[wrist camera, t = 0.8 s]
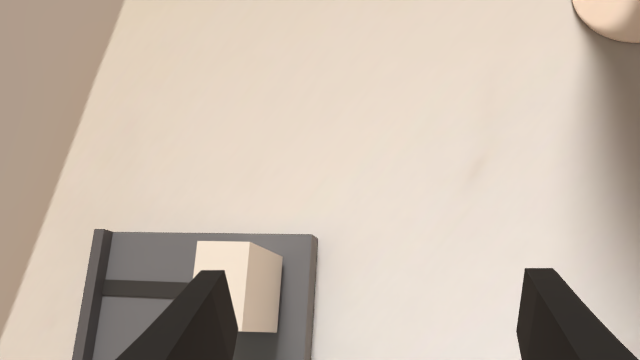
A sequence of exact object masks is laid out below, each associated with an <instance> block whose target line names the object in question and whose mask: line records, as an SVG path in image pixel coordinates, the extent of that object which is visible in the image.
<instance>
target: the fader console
mask: <svg viewBox="0 0 640 360" xmlns="http://www.w3.org/2000/svg"><path fill="white" fill-rule="evenodd" d="M197 241H236V242H252V243H254V244H256V245H258V246H260V247H262V248H265V249H267V250H269V251H271V252H273V253H276V254H278V255H280V256H282V257H283V259H282V273H281V286H280V299H279V312H278V326H277V333H273V332H243V331H238V334H237V340H236V345H235V351H234V356H233V360H311V345H312V328H313V311H314V294H315V277H316V260H317V243H318V238H316V237H315V236H313V235H312V234H235V233H154V232H111V231H108V230H105V229H94V235H93V241H92V247H91V252H90V258H89V264H88V270H87V276H86V281H85V287H84V293H83V299H82V305H81V310H80V316H79V322H78V328H77V334H76V339H75V345H74V351H73V357H72V360H115V359H116V358H117V357H118V356H119V355H120V354H122V353H123V352H124V351H125V350H126V349H127V348H128V347H129V346H130V345H131V344H132V343H133V342H134V341H135V340H136V339H137V338H138V337H139V336H140V335H141V334H142V333H143V332H144V331H145V330H146V329H147V328H148V327H149V326H150V325H151V324H152V323H153V322H154V321H155V320H156V318H157V317H158V316H159V315H160V314H161V313H162V312H163V311H164V310H165V309H166V308H167V307H168V306H169V305H170V304H171V302H172V301H173V300H174V299H175V298H176V297H177V296H178V295H179V294H180V293H181V291H182V290H183V289H184V288H185V287H186V286H187V285H188V284H189V283H190V281H191V280H192V279H193V274H194V265H195V257H196V249H197Z"/></svg>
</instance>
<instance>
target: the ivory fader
mask: <svg viewBox="0 0 640 360" xmlns="http://www.w3.org/2000/svg"><path fill="white" fill-rule="evenodd" d="M282 259H283V257H282V256H280V255H278V254H276V253H273V252H271V251H269V250H267V249H265V248H262V247H260V246H258V245H256V244H254V243H252V242H236V241H197V249H196V257H195V265H194V274H193V278H194V277H195V276H196V275H197V274H198V273H199V272H200V271H201V270H225V274H226V278H227V282H228V287H229V291H230V295H231V299H232V304H233V308H234V312H235V316H236V320H237V325H238V331H243V332H273V333H277V326H278V312H279V299H280V286H281V273H282Z"/></svg>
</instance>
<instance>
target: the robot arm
mask: <svg viewBox="0 0 640 360" xmlns="http://www.w3.org/2000/svg"><path fill="white" fill-rule="evenodd" d="M516 332H517V337H518V342H519V348H520V353H521V358H522V360H638V359H637V358H636V357H635V356H634V355H633V354H632V353H631V352H630V351H629V350H628V349H627V348H626V347H625V346H624V345H623V344H622V343H621V342H620V341H619V340H618V339H617V338H616V337H615V336H614V335H613V334H612V333H611V332H610V331H609V330H608V329H607V328H606V327H605V326H604V324H603V323H602V322H601V321H600V320H599V319H598V318H597V317H596V316H595V315H594V314H593V313H592V312H591V311H590V309H589V308H588V307H587V306H586V305H585V304H584V303H583V302H582V301H581V299H580V298H579V297H578V296H577V295H576V294H575V293H574V292H573V290H572V289H571V288H570V287H569V286H568V285H567V283H566V282H565V281H564V280H563V279H562V278H561V277H560V275H559V274H558V273H557V272H556V271H555V270H554V269H553V268H525V273H524V280H523V287H522V294H521V302H520V309H519V316H518V323H517V331H516ZM237 334H238V325H237V320H236V316H235V312H234V308H233V304H232V299H231V295H230V291H229V287H228V282H227V278H226V274H225V270H201V271H200V272H199V273H198V274H197V275H196V276H195V277H194V278H193V279H192V280H191V281H190V283H189V284H188V285H187V286H186V287H185V288H184V289H183V290H182V291H181V293H180V294H179V295H178V296H177V297H176V298H175V299H174V300H173V301H172V302H171V304H170V305H169V306H168V307H167V308H166V309H165V310H164V311H163V312H162V313H161V314H160V315H159V316H158V317H157V318H156V320H155V321H154V322H153V323H152V324H151V325H150V326H149V327H148V328H147V329H146V330H145V331H144V332H143V333H142V334H141V335H140V336H139V337H138V338H137V339H136V340H135V341H134V342H133V343H132V344H131V345H130V346H129V347H128V348H127V349H126V350H125V351H124V352H123V353H122V354H120V355H119V356H118V357H117V358H116V359H115V360H233V356H234V351H235V345H236V340H237Z"/></svg>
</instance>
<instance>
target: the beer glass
mask: <svg viewBox="0 0 640 360" xmlns="http://www.w3.org/2000/svg"><path fill="white" fill-rule="evenodd" d="M572 2H573V5H574V8H575V10H576V12H577V14H578V16H579V17H580V18H581V20H582V21H583V22H584V23H585V24H586V25H587V26H588V27H590V28H591V29H592V30H594V31H595V32H597V33H598V34H600V35H602V36H605V37H607V38H610V39H613V40H617V41H621V42H629V43H640V0H572Z"/></svg>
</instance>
